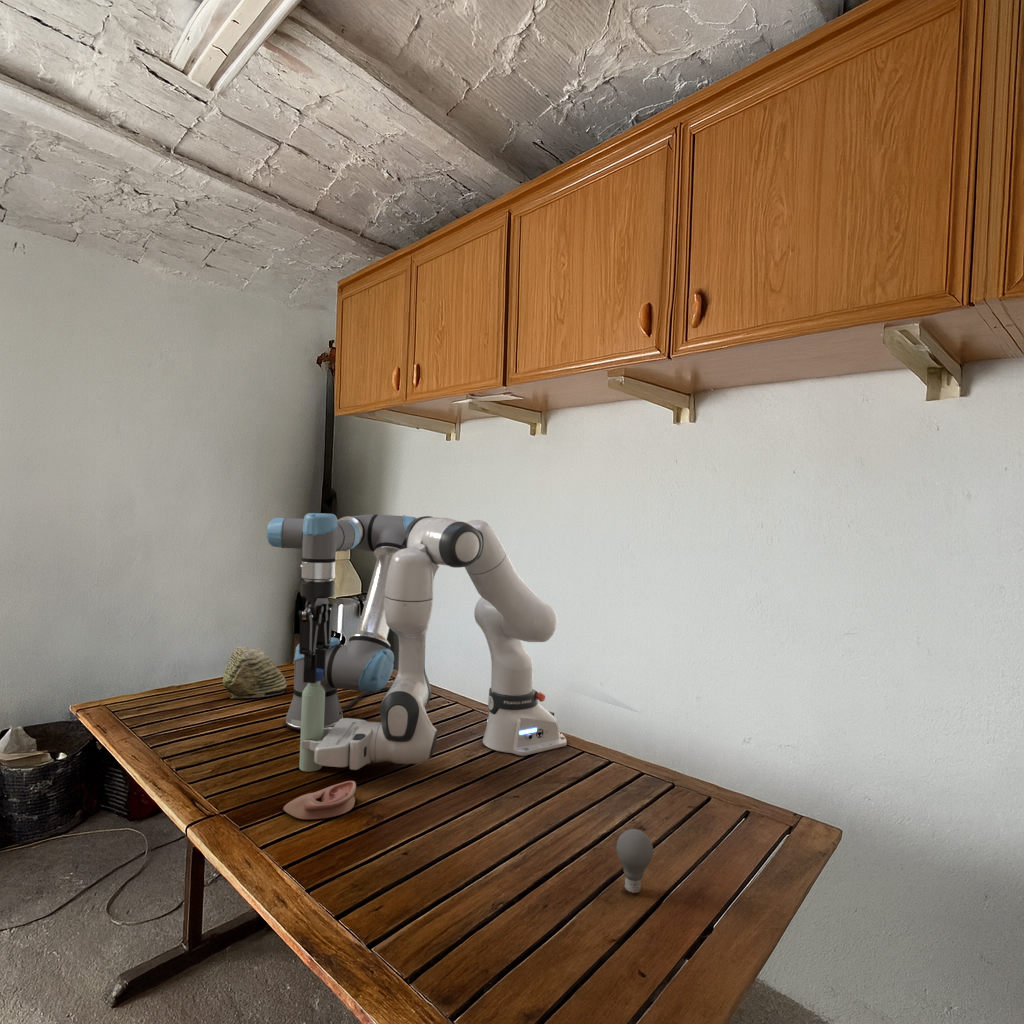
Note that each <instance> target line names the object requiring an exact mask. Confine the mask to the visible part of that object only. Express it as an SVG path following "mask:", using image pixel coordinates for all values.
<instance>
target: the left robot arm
mask: <svg viewBox="0 0 1024 1024" xmlns="http://www.w3.org/2000/svg"><path fill="white" fill-rule="evenodd" d="M416 518H417V517H416V516H410V515H409V516H408V515H405V514H404V515H392V514H390V515H389V514H376V513H375V514H374V513H373V514H372V513H371V514H369V513H368V514H360V515H352V516H350V515H349V516H348V515H347V516H346V515H345V516H343V517H340V518H339V519H338V517H337V516H336V515H335V514H334V513H325V512H324V513H322V512H321V513H320V512H319V513H317V512H308V513H306V514H304V517H303V518H293V517H291V518H290V517H274V518H272V519H271V520H270V521H269V522H268V523H267V524H268V525H267V527H266V540H267V542H268V544H269V545H270V546H271V547H274V548H281V549H298V550H299V549H300V550H301V551H302V555H301V564H300V569H301V578H302V580H301V581H300V596H301V597H302V598H305V600H306V601H305V605H304V610H299V611H298V618H299V638H298V639H299V641H298V642H299V643H298V644H297V645H296V647H295V652H294V653H295V654H294V659H293V661H294V672H293V695H292V696H293V697H292V699H291V702H290V704H289V708H288V711H287V713H286V715H285V726H286V728H287V729H289V730H291V731H294V732H295V731H296V732H301V711H302V692H303V690H304V689H305V687H306V686H307V685H308V683H316V668H320V669H323V670H324V678H323V680H321V681H320V684H321V686H322V687H323V688H324V690H325V710H324V728H327V727H334V726H335V725H336V724H337V722H338V721H339V720H340V719H343V718H344V714H343V710H345V709H349V708H350V707H351V706H353V705H354V704H355V702H356V701H358V700H359V699H361V698H363V697H365V696H367V695H370V694H373V693H377V692H382V691H389V689H390V688H391V686H387V684H388V683H389V681H390V678H391V677H392V674H393V671H394V666H395V665H394V664H395V663H394V662H395V655H394V652H393V651H392V650H391V644H390V642H389V641H388V637H389V636H388V635H389V633H390V628H389V627H388V625H387V624H386V619H385V611H384V598H385V586H386V579H387V573H388V568H389V564H390V561H391V558H392V556H393V554H394V553H395V552H397V551H399V550H401V549H402V547H401V544H402V542H403V539H404V534H405V531H406V529H407V527H408V525H409V524H410V523H411V522H412V521H413V520H414V519H416ZM403 548H404V546H403ZM352 549H354V550H360V551H365V552H373V555H374V557H375V558H376V562H375V566H374V569H373V573H372V576H371V580H370V583H369V586H368V591H367V594H366V598H365V600H364V601H365V602H364V605H363V609H362V612H361V615H360V618H359V622H358V626H357V630H356V633H354V634H352V635H350V636H349V638H348V641H347V644H346V645H345V644H340V643H341V641H340V639H339V638H338V637H334V636H333V637H332V623H333V613H334V612H333V611H334V606H335V605H334V603H333V602H329V599H330V598H333V597H334V596H335V585H336V583H335V581H334V579H335V578H336V565H337V564H336V556H337V555H336V554H337V552H347V551H350V550H352ZM338 689H339V690H340V689H341V690H347V691H348V690H349V691H359V692H362V693H361V694H358V696H356V697H354V698H353V699H352V700H351V701H350V702H349V703H348V704H346V705H341V702H340V699H339V695H338Z"/></svg>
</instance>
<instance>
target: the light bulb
mask: <svg viewBox="0 0 1024 1024" xmlns="http://www.w3.org/2000/svg"><path fill="white" fill-rule="evenodd" d="M615 849H616V854H617V857H618V859H619V861H620V863H621V865H622V867H623V873H624V874H623V875H624V876H625V878H624V888H625V890H627V891H628V892H630V893H634V894H635V893H639V892H640V891H641V889H642V887H641V886H642V879H643V877H644V875H645V871H646V868H647V867H648V866H649V864H650V863H651V861H652V859H653V855H654V847H653V843H652V841H651V838H649V836H648V835H647V834H646V833H645V832H643V831H642V830H641V829H636V828H629V829H627V830H625V831H623V832H622V833H621V834H620V835H619V837H618V839H617V841H616V847H615Z"/></svg>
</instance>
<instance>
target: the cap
mask: <svg viewBox="0 0 1024 1024" xmlns="http://www.w3.org/2000/svg"><path fill="white" fill-rule="evenodd" d="M323 678H324V670H323V669H320V668H316V681H321V680H323Z"/></svg>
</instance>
